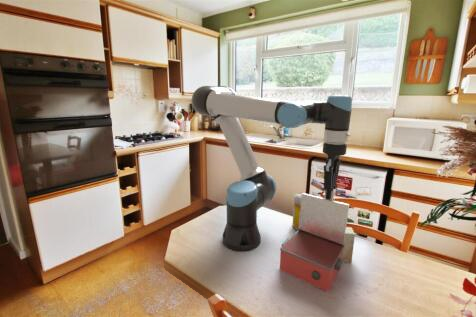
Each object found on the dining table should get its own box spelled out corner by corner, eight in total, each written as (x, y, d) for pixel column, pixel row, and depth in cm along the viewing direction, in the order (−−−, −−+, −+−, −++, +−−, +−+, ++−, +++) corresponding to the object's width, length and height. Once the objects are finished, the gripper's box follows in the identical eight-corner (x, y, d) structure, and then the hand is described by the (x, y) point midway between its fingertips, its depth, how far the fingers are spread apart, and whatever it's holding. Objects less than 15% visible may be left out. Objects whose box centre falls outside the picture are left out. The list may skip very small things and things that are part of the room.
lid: (302, 193, 88) (303, 192, 89) (298, 230, 91) (299, 229, 92) (348, 205, 79) (349, 203, 80) (342, 246, 82) (343, 243, 83)
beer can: (308, 230, 106) (310, 198, 102) (293, 230, 106) (296, 198, 102) (304, 223, 112) (307, 192, 108) (291, 223, 112) (293, 192, 108)
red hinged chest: (274, 269, 83) (275, 248, 81) (293, 247, 94) (294, 228, 92) (332, 295, 72) (335, 272, 70) (345, 267, 83) (348, 247, 81)
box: (351, 263, 86) (355, 234, 83) (338, 261, 86) (341, 233, 84) (348, 253, 91) (351, 226, 88) (335, 252, 91) (339, 225, 89)
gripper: (341, 147, 76) (333, 216, 83) (351, 140, 87) (343, 202, 93) (317, 144, 81) (311, 209, 87) (329, 138, 91) (323, 197, 97)
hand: (328, 206), depth 90 cm, fingers closed
